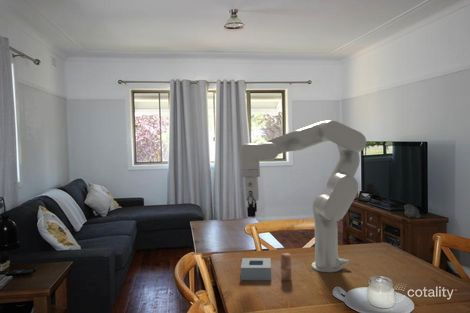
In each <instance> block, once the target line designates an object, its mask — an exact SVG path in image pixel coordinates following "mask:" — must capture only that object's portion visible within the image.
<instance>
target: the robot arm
mask: <svg viewBox="0 0 470 313" xmlns="http://www.w3.org/2000/svg"><path fill="white" fill-rule="evenodd" d="M325 142H331V143H334V144H335V145H336V146H337V149H338V152H339V159H338V161H337V164H336V166H335V167H334V169H333V171H332V173H331V175H330V176H329V177H328V180H327V182H326V188H327V189H328V191H329V192H330V195H329V194H327V193H326V194H324V193H323V194H319V195H318V196H316V197H315V198H314V200H313V203H312V213H313V220H314V221H313V222H314V261H313V262H312V263H311V268H312V269H313V270H314V271H317V272H319V273H320V272H322V273H337V272H339V271H341V270H342V265H350V260H349V259H346V258H340V257H339V252H338V250H339V249H338V248H339V247H338V244H339V242H338V240H339V238H338V222H339V221H340V220H342V219H343V218H344V216H345V215H346V214H347V213H348V210H349V209H350V207H351V205H352V203H353V202H354V200H355V198H356V196H357V193H358V191H359V183H358V181H357V179H356V178H355V175H356V173H357V170H358V168H359V165H360V163H361V162H360V161H361V159H360V153H359V152H362V151H363V150H364V149H365V148H366V146H367V138H366V136H365V135H364V134H363V133H362V132H361V131H359V130H357V129H354V128H352V127H350V126H348V125H345V124H343V123H341V122H339V121H337V120H334V119H333V120H332V119H331V120H330V119H329V120H321V121H319V122H316V123H313V124H311V125H308V126H305V127H301V128H299V129H296V130H292V131H290V132H287V133H285V134H283V135H279V136H276V137H273V138H270V139H267V140H264V141H261V142H260V143H255V142H254V143H251V142H249V143H248V142H247V143H242V144H241V145H240V165H241V178H244V192H245V194H244V195H245V201H246V202H247V207H246V209H247V217H248V218H255V217H256V216H257V215H256V212H258V211H257V210H258V208H257V204H258V203H257V202H258V201H259V199H260V192H259V179H258V178H259V177H260V176H261V172H260V168H261V167H260V161H273V160H276V158H278V156H279V155H281V154H284V153H287V152H288V153H289V152H296V151H301V150H302V151H303V150H305V149H308V148H310V147H313V146H317V145H319V144H321V143H325Z"/></svg>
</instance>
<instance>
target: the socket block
mask: <svg viewBox="0 0 470 313" xmlns="http://www.w3.org/2000/svg"><path fill="white" fill-rule="evenodd" d="M240 280H241V281H272V262H271V257H255V258H254V257H242V260H241V265H240Z"/></svg>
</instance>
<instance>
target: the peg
mask: <svg viewBox="0 0 470 313" xmlns="http://www.w3.org/2000/svg"><path fill="white" fill-rule="evenodd" d="M280 280H281V281H283V282H291V281H292V254H291V253H290V252H283V253H282V252H281V254H280Z"/></svg>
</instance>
